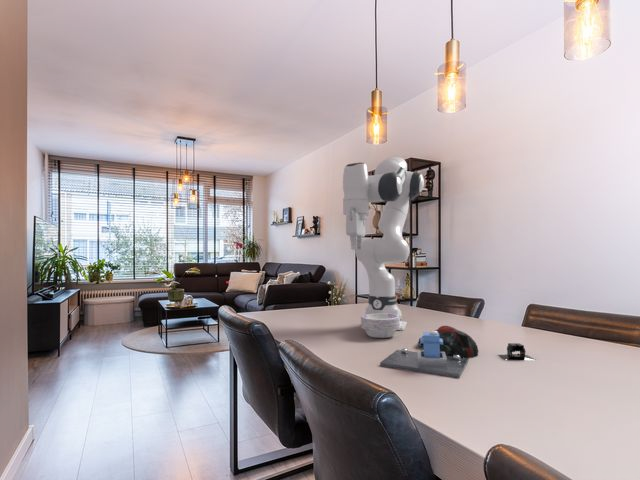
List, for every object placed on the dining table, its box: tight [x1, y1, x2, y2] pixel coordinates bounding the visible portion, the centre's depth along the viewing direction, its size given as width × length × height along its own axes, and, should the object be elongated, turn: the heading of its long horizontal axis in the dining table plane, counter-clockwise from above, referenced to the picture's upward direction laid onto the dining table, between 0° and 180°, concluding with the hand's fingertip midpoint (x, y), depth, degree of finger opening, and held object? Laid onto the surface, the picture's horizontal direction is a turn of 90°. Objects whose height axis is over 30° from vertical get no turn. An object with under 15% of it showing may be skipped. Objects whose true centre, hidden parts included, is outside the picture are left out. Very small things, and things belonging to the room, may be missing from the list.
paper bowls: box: [360, 313, 400, 339], centre depth 149 cm, size 15×15×8 cm
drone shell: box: [417, 325, 479, 359], centre depth 128 cm, size 21×20×8 cm
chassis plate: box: [379, 347, 470, 378], centre depth 111 cm, size 16×22×3 cm
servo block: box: [419, 330, 443, 358], centre depth 110 cm, size 4×6×9 cm
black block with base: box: [497, 342, 536, 361], centre depth 117 cm, size 12×7×5 cm, turn 86°
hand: (356, 249), depth 128 cm, fingers open, 8 cm apart
